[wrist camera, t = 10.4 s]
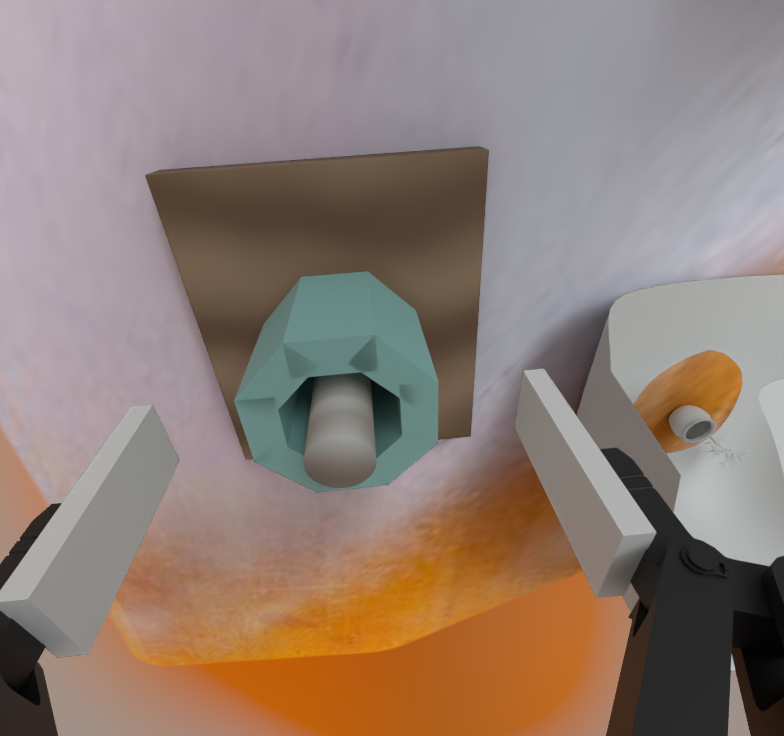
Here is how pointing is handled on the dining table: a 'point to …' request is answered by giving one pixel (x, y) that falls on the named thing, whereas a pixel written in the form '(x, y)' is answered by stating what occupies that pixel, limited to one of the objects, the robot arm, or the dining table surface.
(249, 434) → the collar
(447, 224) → the shaft board
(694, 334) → the bowl
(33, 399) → the dining table surface
